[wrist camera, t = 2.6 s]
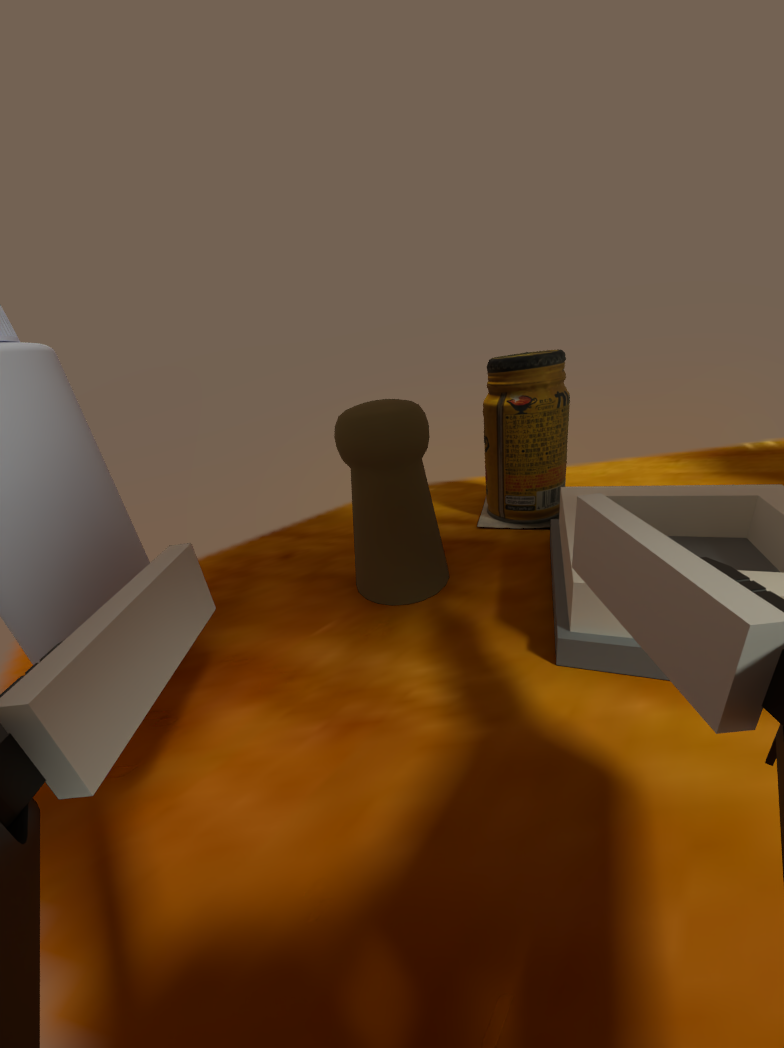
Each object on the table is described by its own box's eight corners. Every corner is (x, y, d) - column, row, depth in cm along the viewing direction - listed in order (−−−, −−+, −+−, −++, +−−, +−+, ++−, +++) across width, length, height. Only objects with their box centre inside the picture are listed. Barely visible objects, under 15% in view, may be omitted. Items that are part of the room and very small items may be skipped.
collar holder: (769, 545, 23) (788, 481, 21) (952, 718, 13) (1016, 621, 11) (550, 538, 27) (551, 484, 25) (556, 665, 17) (560, 588, 15)
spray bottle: (158, 612, 25) (-42, 183, 16) (200, 646, 21) (-30, 111, 12) (43, 672, 21) (-309, 146, 12) (70, 728, 17) (-414, 22, 8)
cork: (370, 554, 28) (342, 399, 24) (452, 553, 27) (440, 388, 22) (343, 604, 23) (302, 417, 19) (444, 606, 22) (425, 404, 17)
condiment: (486, 495, 36) (482, 356, 31) (587, 494, 33) (600, 341, 28) (477, 529, 30) (469, 363, 25) (599, 532, 27) (618, 345, 22)
